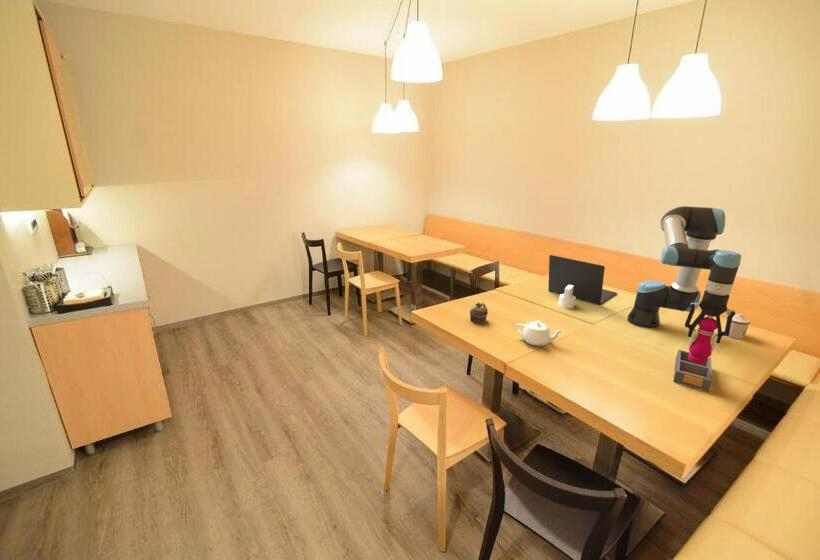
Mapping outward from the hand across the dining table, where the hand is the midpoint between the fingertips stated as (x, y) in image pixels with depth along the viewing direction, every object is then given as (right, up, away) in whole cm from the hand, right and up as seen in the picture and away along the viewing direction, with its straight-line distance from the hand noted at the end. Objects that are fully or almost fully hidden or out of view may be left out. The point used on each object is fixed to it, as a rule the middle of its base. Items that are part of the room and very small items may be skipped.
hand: (700, 347), depth 148 cm
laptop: (-2, +17, +99) cm, 101 cm away
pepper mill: (0, -6, +2) cm, 6 cm away
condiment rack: (+3, -13, +9) cm, 16 cm away
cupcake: (-78, +4, +57) cm, 96 cm away
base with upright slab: (-20, +11, +79) cm, 82 cm away
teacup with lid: (+52, -2, +46) cm, 69 cm away
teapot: (-53, -4, +34) cm, 63 cm away
